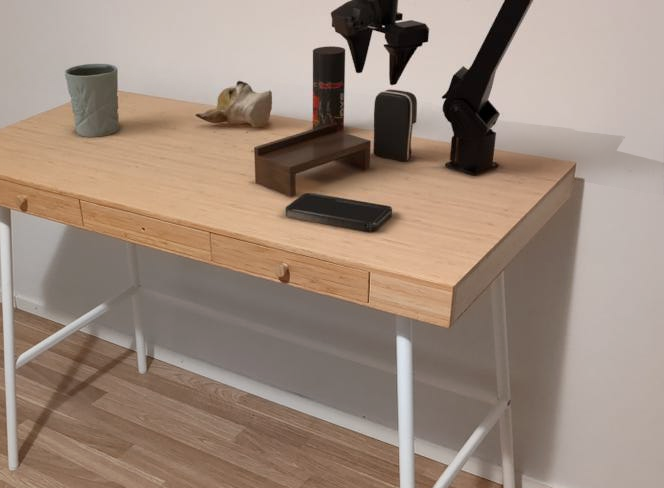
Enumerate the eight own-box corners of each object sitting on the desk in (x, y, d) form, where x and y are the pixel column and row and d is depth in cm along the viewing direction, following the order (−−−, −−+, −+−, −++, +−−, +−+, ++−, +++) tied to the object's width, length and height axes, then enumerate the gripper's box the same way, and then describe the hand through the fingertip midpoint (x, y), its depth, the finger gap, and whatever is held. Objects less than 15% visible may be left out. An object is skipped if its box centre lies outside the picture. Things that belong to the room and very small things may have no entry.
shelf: (369, 169, 153) (371, 133, 150) (290, 197, 144) (289, 160, 141) (333, 156, 159) (333, 122, 156) (255, 183, 151) (253, 147, 147)
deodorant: (342, 135, 169) (343, 54, 161) (310, 135, 170) (310, 54, 162) (345, 126, 174) (346, 46, 166) (314, 125, 175) (314, 46, 167)
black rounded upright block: (417, 156, 157) (421, 91, 151) (406, 163, 155) (409, 96, 149) (382, 149, 161) (385, 85, 155) (371, 156, 159) (373, 91, 153)
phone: (374, 225, 130) (282, 209, 137) (373, 232, 131) (283, 215, 138) (394, 206, 136) (306, 191, 143) (394, 213, 136) (306, 198, 143)
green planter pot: (63, 134, 179) (53, 73, 173) (94, 120, 186) (87, 60, 180) (103, 140, 174) (95, 78, 168) (134, 125, 181) (127, 65, 175)
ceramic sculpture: (256, 89, 167) (190, 86, 174) (259, 135, 171) (195, 130, 179) (284, 75, 174) (219, 73, 182) (286, 120, 179) (223, 116, 186)
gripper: (306, -23, 147) (305, 74, 155) (377, -5, 133) (371, 100, 141) (361, -30, 151) (356, 64, 160) (435, -15, 138) (426, 88, 146)
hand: (375, 78), depth 152 cm, fingers open, 9 cm apart
